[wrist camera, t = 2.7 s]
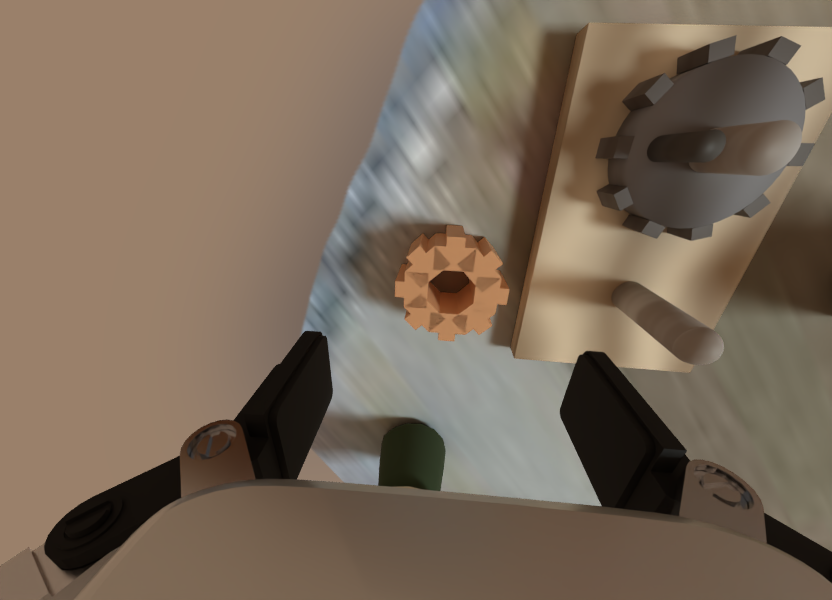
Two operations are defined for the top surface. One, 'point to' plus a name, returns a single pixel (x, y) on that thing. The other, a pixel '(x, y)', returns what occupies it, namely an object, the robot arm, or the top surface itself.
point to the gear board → (595, 232)
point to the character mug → (412, 458)
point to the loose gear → (451, 308)
